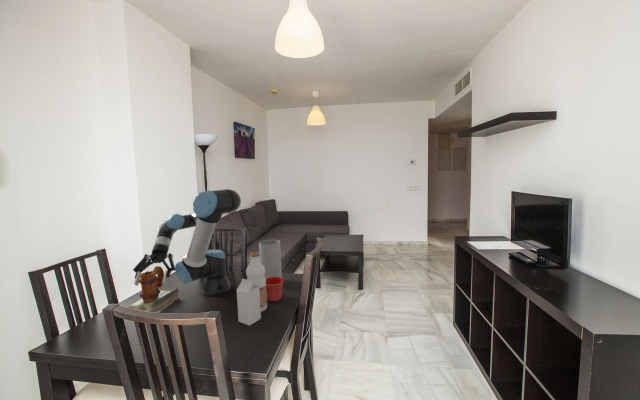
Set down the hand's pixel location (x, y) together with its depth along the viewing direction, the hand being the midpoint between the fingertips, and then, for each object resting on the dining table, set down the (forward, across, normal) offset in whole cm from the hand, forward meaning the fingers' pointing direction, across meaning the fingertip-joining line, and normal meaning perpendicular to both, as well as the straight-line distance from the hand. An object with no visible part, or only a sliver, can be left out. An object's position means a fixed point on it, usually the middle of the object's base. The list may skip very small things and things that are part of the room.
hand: (149, 284), depth 145 cm
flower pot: (+6, -61, -12) cm, 62 cm away
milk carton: (+22, -52, +4) cm, 56 cm away
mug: (+4, 0, -8) cm, 9 cm away
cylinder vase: (-8, -57, -26) cm, 64 cm away
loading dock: (+7, -1, -10) cm, 13 cm away
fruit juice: (+14, -54, -4) cm, 56 cm away
